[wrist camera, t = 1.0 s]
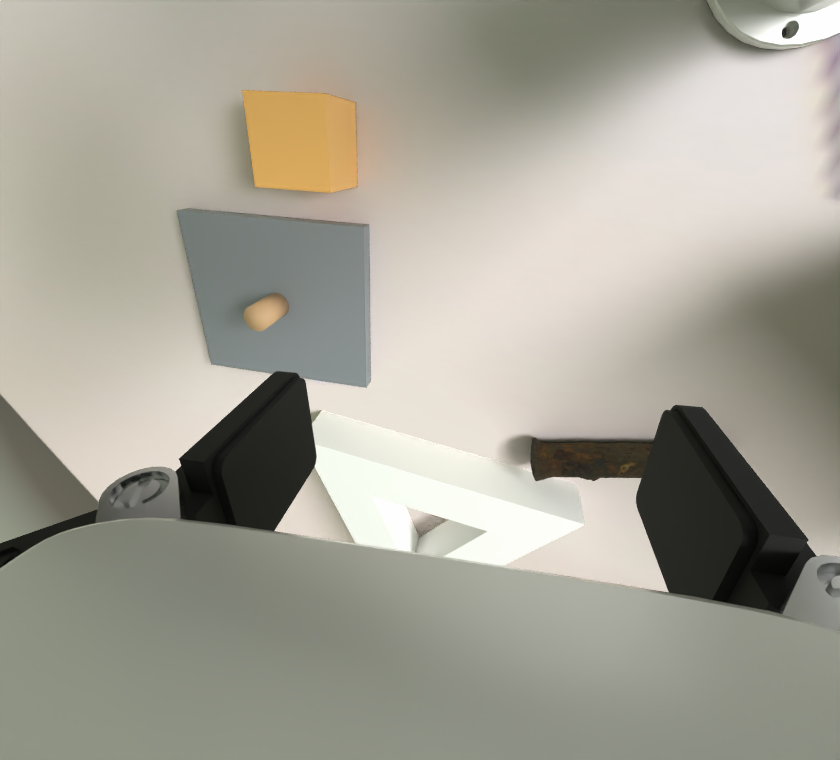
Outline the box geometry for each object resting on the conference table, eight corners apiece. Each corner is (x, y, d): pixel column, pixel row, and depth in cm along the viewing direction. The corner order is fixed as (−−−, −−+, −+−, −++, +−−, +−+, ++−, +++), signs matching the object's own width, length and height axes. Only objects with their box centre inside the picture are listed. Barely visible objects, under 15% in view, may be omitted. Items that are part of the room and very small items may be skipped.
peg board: (187, 208, 39) (143, 216, 35) (369, 224, 37) (347, 235, 32) (219, 358, 47) (187, 381, 43) (370, 380, 45) (353, 408, 40)
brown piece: (529, 461, 46) (531, 491, 42) (530, 432, 44) (531, 460, 40) (724, 468, 41) (746, 502, 37) (733, 435, 40) (758, 467, 36)
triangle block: (577, 480, 46) (585, 524, 41) (506, 608, 59) (505, 654, 54) (324, 407, 48) (299, 439, 43) (311, 546, 62) (291, 584, 56)
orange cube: (284, 99, 33) (242, 90, 28) (355, 102, 32) (325, 93, 27) (292, 181, 36) (255, 186, 31) (357, 186, 35) (330, 192, 30)
